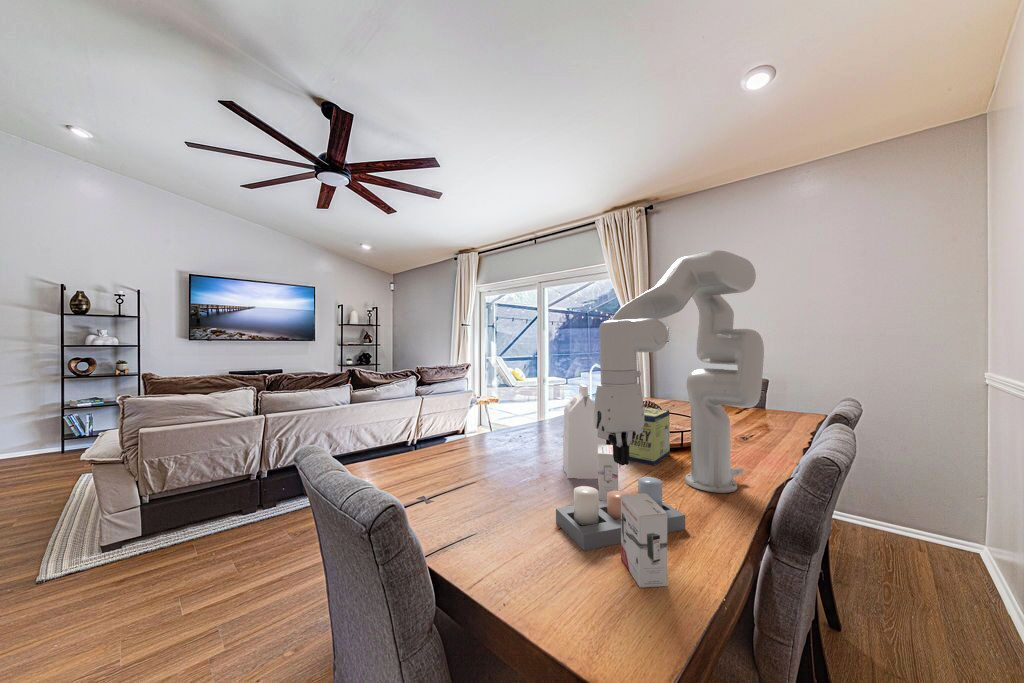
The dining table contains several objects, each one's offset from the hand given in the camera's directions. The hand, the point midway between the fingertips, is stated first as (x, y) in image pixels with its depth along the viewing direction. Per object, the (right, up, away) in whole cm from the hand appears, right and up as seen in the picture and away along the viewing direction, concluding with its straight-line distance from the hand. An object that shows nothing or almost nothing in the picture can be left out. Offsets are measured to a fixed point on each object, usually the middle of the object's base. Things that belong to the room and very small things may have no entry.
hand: (621, 462), depth 81 cm
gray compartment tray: (-1, -13, 0) cm, 13 cm away
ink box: (-1, -14, -16) cm, 21 cm away
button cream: (-8, -11, -3) cm, 14 cm away
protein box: (+22, -13, +47) cm, 53 cm away
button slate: (+7, -11, +2) cm, 13 cm away
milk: (-2, -14, +33) cm, 36 cm away
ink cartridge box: (+1, -13, +16) cm, 21 cm away
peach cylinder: (-1, -13, 0) cm, 13 cm away
